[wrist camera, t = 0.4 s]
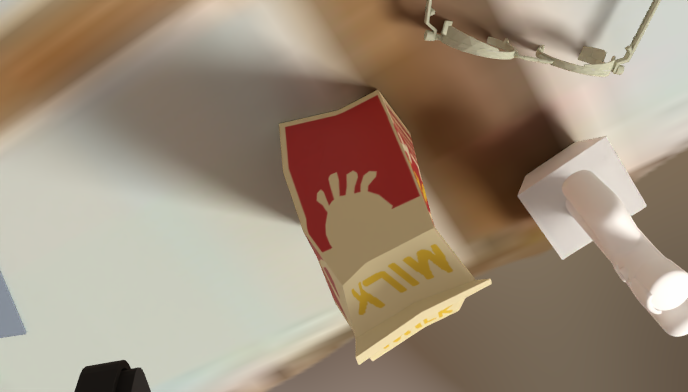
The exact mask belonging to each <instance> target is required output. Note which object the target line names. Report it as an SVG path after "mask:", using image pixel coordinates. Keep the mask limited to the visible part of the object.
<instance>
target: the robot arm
mask: <svg viewBox="0 0 688 392" xmlns="http://www.w3.org/2000/svg"><path fill="white" fill-rule="evenodd" d="M75 392H151V391H150V388H149V385H148V382H147V380H146V377H145V374H144V372H143V370H142V369H141V368H133V369H131V368H130V366H129V364H128V363H127V362H126V360H121V361H115V362H109V363H103V364H98V365H92V366H86V367H85V368H84V369H83V370H82V372H81V374H80V377H79V380H78V383H77V386H76V389H75Z"/></svg>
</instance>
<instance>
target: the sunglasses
mask: <svg viewBox="0 0 688 392" xmlns="http://www.w3.org/2000/svg"><path fill="white" fill-rule="evenodd" d="M653 1H654V2H652V3H651V6H650V8H649V10H648V11H647V14H646V15H645V17H644V19H643V22H642V24H641V25H640V28H639V29H638V32H637V33H636V34H635V35H636V36H635V38H634V37H633V41H632V42H631V44H632V45H630V46H627V47H626V48H625V49H626V51H627V52H626V54H625V56H624V57H623V58H620V59H617V60H615V58H616V57H615V56H613V57H612V59H611V61H610V62H608V63H605V62H603V61H604V58H605V56H606V52H605V51H604V50H602V49H597V48H593V47H586V46H583V49H582V51H581V53H580V54H579V57H578V60H581V61H584V62H587V63H589V64H592V65H584V67H583V66H579V65H575V64H571V63H568V62H565V61H561V60H559V59H556V58H553V57H551V56H549V55H547V54H545V53H543V50H544V45H541V46H540V47H538V48H537V52H536V57H537V58H533V57H529V56H521V55H518V52H517V51H516V49H515V47H513V46H511V45H510V44H509V43H508V42H509V40H508V39H507V38H506V39H505V40H504V41H501V40H498V39H495V38H492V37H488V39H487V43H488V44H491V45H494V46H497V47H499V48H501V49H504V50H506V51H507V52H500V51H499V49H497V48H494V47H492V46H490V45H487V44H485V43H483V42H481V41H479V40H477V39H475V38H473V37H470V36H468V35H467V34H465V33H463V32H461V31H459V30H457V29H456V28H454V27H452V23H453V22H451V21H447V20H445V22H444V25H443V29H442V31H441V35H439V34H438V35H437V34H436V33H437V29H436V28H435V27H433V26H432V25H431V24H430V23H429V19H430V16H432V15H434V14H435V12H436V11H435V10H434V9H432V8H431V3H432V0H427V3H426V7H425V8H426V9H427V11H426V9H425V20H424V23H425V24H426V25H428V26H429V27H430V28H431V29H432V31H429V30H426V31H425V34H424V40H427V41H435V40H440V41H442V42H443V43H444V44H446V45H448V46H450V47H453V48H455V49H458V50H460V51H463V52H467V53H471V54H474V55H478V56H483V57H488V58H494V59H512V58H514V55H515V57H516V58H520V59H523V60H527V61H534V62H539V63H544V64H551V65H553V66H556V67H559V68H562V69H565V70H568V71H572V72H576V73H580V74H585V75H590V76H598V77H605V76H608V75H609V74H610V71H611V72H613V73H614V74H618V75H621V74H622V73H623V72H624V66H622V65H620V64H623V63H626V62H629V61H630V59H631V57H632V55H633V53H634V51H635V49H636V47H637V45H638V44H639V42H640V40H641V38H642V36H643V34H644V32H645V30H646V28H647V26H648V24H649V22H650V20H651V19H652V17H653V15H654V13H655V11H656V9H657V7H658V5H659V3H660V1H661V0H653Z"/></svg>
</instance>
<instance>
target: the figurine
mask: <svg viewBox="0 0 688 392" xmlns="http://www.w3.org/2000/svg"><path fill="white" fill-rule="evenodd" d="M517 196H518V198H519V199H520V201H521V202H522V203H523V205H524V206H525V208H526V209H527V211H528V212H529V213H530V215H531V216H532V218H533V219H534V220H535V222H536V223H537V225H538V226H539V228H540V229H541V230H542V232H543V233H544V235H545V236H546V237H547V239H548V240H549V242H550V243H551V245H552V246H553V247H554V249H555V250H556V252H557V253H558V254H559V256H560V257H561V259H562V260H563V259H565V258H566V257H568V256H570V255H571V254H572V253H574V252H576V251H577V250H579V249H581V248H582V247H584V246H585V245H587V244H588V243H590V242H591V241H594V243H595V244H596V245H597V246H598V247H599V248H600V250H601V251H602V252H603V253H604V254H605V256H606V257H607V258H608V259H609V260H610V262H611V263H612V264H613V265H614V267H613V268H614V269H615V271H616V272H617V273H618V275H619V277H620V278H621V280H623V282H626V283H627V284H628V286H629V288H630V289H631V290H632V292H633V294H634V295H635V296H636V298H637V299H638V300H639V302H640V303H641V304H642V305H643V306H644V307H645V309H646V310H647V311H648V312H649V313H650V314H651V315H652V316H653V318H654V319H655V320H656V321H657V322H658V324H659V325H660V326H661V327H662V328H663V329H664V331H665V332H667V333H668V334H670V335H672V336H683V335H686V334H688V299H687V298H688V273H686V272H685V271H684V270H683V269H681V268H680V267H679V266H678V265H676V264H675V263H674V262H672V261H671V260H669V259H667V258H666V257H665V256H664V255H662V254H661V252H660V251H659V250H658V249H657V248H656V247H655V246H654V245H653V244H652V243H651V242H650V241H649V240H648V239H647V238H646V236H645V235H644V234H643V233H642V232H641V231H640V230H639V229H638V228H637V226H636V224H635V223H634V221H633V219H632V218H631V216H632V215H634V214H635V213H637V212H639V211H640V210H642V209H643V208H645V207H646V206H647V205H646V203H645V202H644V200H643V198H642V197H641V195H640V193H639V191H638V190H637V188H636V186H635V184H634V183H633V181H632V179H631V178H630V176H629V174H628V172H627V171H626V169H625V167H624V166H623V164H622V162H621V160H620V159H619V157H618V155H617V153H616V152H615V150H614V148H613V147H612V145H611V143H610V141H609V140H608V138H607V136H604V137H599V138H594V139H589V140H583V141H578V142H574V143H573V144H571V145H570V146H568V147H567V148H565V149H564V150H562V151H561V152H559V153H558V154H556V155H555V156H553V157H552V158H551V159H549V160H548V161H546V162H545V163H543V164H542V165H540V166H539V167H537V168H536V169H534V170H533V171H531V172H530V173H528V174H527V175H526V176H525V178H524V181H523V183H522V185H521V188H520V190H519V193H518V195H517Z"/></svg>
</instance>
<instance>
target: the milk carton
mask: <svg viewBox="0 0 688 392" xmlns="http://www.w3.org/2000/svg"><path fill="white" fill-rule="evenodd" d="M279 131H280V143H281V155H282V167H283V173H284V176H285V179H286V182H287V185H288V188H289V191H290V194H291V197H292V200H293V203H294V206H295V209H296V212H297V214H298V217H299V220H300V223H301V226H302V229H303V232H304V234H305V235H306V237H307V239H308V241H309V243H310V245H311V247H312V249H313V251H314V252H315V254H316V256H317V258H318V261H319V263H320V266H321V268H322V271H323V273H324V276H325V278H326V281H327V283H328V286H329V288H330V291H331V293H332V296H333V298H334V301H335V303H336V305H337V306H338V308H339V310H340V311H341V313H342V314H343V316H344V317H345V319H346V321H347V322H348V324H349V325H350V327H351V328H352V330H353V331H354V334H355V338H356V360H357V362H358V364H359V365H360V364H361V363H362V362H364V361H365V360H367V359H368V358H370V359H371V360H372V361H374V360H375V359H377V358H378V357H380V356H381V355H383V354H385V353H386V352H388V351H389V350H391V349H392V348H394V347H395V346H397V345H398V344H400V343H401V342H403V341H404V340H406V339H407V338H409V337H410V336H412V335H413V334H415V333H416V332H418V331H420V330H421V329H423V328H424V327H426V326H428V325H430V324H432V323H434V322H436V321H438V320H440V319H443V318H445V317H447V316H448V315H451V314H453V313H455V312H457V311H459V309H460V307H461V305H462V303H463V302H464V300H465V298H466V297H468V296H469V295H471V294H473V293H475V292H477V291H479V290H481V289H483V288H485V287H487V286H489V285H490V284H491V279H483V280H475V279H474V277H473V276H472V275H471V274H470V272H469V271H468V270H467V268H466V267H465V266H464V265H463V263H462V262H461V261H460V259H459V258H458V257H457V256H456V254H455V253H454V252H453V250H452V249H451V248H450V247H449V245H448V244H447V243H446V241H445V240H444V239H443V238H442V236H441V235H440V234H439V232H438V231H437V230H436V229H435V226H434V223H433V219H432V216H431V213H430V209H429V205H428V201H427V197H426V193H425V190H424V186H423V182H422V178H421V174H420V170H419V166H418V163H417V159H416V155H415V151H414V147H413V143H412V139H411V135H410V132H409V131H408V129H407V128H406V127H405V125H404V124H403V123H402V121H401V120H400V119H399V117H398V116H397V115H396V113H395V112H394V111H393V109H392V108H391V107H390V105H389V104H388V103H387V101H386V100H385V98H384V97H383V96H382V94H381V93H380V92H379V90H376V91H374V92H372V93H370V94H368V95H367V96H365V97H363V98H361V99H359V100H357V101H355V102H353V103H351V104H349V105H347V106H345V107H343V108H341V109H340V110H337V111H333V112H328V113H324V114H319V115H315V116H311V117H306V118H302V119H298V120H293V121H289V122H285V123H280V124H279Z"/></svg>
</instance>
